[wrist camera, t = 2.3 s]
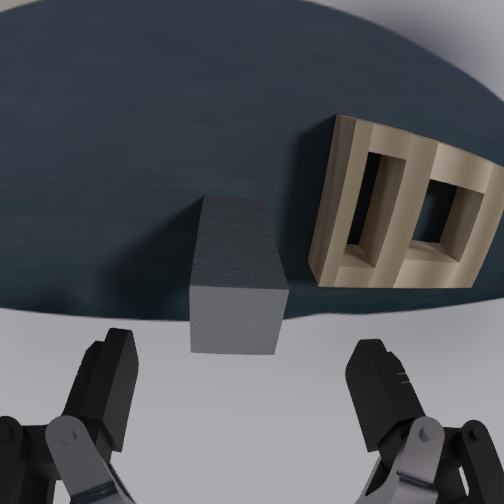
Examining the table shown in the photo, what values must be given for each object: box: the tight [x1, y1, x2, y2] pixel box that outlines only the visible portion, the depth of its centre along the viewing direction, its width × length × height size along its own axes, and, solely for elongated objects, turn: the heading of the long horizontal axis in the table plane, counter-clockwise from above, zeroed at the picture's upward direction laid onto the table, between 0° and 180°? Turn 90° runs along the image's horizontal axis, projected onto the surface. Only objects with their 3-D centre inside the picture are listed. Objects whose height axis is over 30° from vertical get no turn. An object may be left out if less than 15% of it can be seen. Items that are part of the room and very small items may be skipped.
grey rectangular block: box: [190, 196, 289, 355], centre depth 15 cm, size 4×4×9 cm
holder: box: [308, 114, 504, 288], centre depth 18 cm, size 14×10×3 cm
